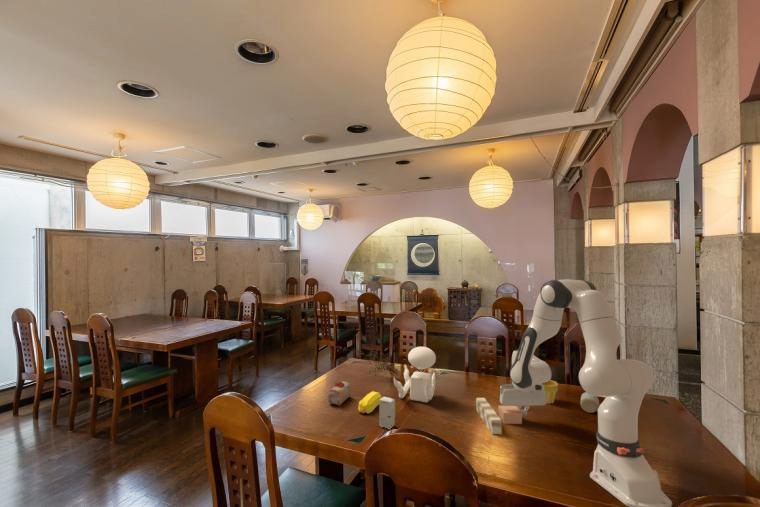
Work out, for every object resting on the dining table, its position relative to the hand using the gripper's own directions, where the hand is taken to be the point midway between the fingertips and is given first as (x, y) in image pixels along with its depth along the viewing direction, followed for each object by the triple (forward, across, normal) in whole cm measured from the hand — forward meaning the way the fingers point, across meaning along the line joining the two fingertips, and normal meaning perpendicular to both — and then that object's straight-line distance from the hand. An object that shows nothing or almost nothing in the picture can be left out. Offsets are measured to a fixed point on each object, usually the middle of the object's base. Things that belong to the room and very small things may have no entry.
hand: (523, 414), depth 160 cm
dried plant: (+3, -73, +59) cm, 94 cm away
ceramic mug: (+3, +37, +9) cm, 38 cm away
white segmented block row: (+3, -16, 0) cm, 16 cm away
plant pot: (+3, +21, +21) cm, 30 cm away
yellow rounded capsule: (+3, -70, +16) cm, 72 cm away
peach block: (+3, -6, +1) cm, 6 cm away
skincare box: (+3, -62, -4) cm, 62 cm away
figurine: (+3, -45, +27) cm, 53 cm away
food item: (+3, -87, +25) cm, 91 cm away
